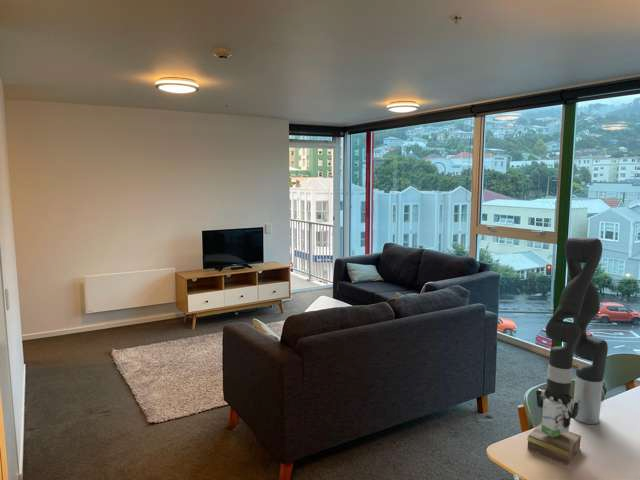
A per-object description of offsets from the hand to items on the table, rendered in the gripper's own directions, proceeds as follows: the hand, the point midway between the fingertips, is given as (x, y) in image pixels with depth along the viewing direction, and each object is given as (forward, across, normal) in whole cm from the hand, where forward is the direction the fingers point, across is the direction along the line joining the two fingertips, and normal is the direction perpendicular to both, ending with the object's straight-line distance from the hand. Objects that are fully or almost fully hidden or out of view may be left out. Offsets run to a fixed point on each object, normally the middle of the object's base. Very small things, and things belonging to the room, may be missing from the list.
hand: (555, 423), depth 163 cm
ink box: (+3, 0, 0) cm, 3 cm away
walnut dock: (+10, 0, 0) cm, 10 cm away
